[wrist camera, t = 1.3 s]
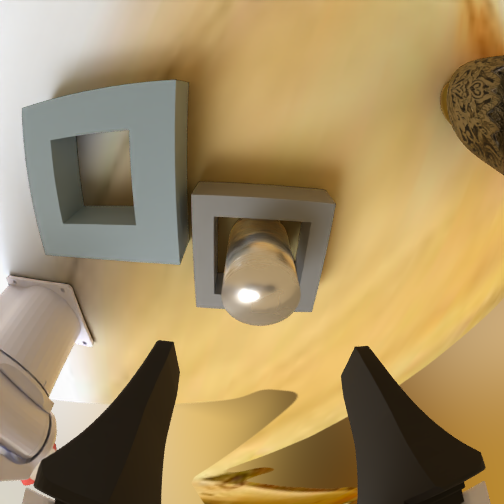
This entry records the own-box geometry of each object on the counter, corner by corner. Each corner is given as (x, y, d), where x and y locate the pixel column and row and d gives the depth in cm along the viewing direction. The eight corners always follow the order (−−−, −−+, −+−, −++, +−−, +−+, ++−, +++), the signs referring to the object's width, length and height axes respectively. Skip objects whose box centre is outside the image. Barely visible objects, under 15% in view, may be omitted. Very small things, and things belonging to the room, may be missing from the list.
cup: (402, 129, 15) (484, 159, 8) (424, 36, 12) (507, 24, 5) (472, 166, 16) (544, 208, 9) (492, 86, 12) (568, 103, 6)
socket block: (65, 235, 19) (45, 254, 16) (48, 103, 14) (21, 108, 11) (188, 240, 19) (179, 264, 17) (188, 82, 14) (176, 79, 11)
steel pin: (228, 264, 20) (221, 323, 15) (229, 211, 18) (221, 261, 13) (283, 267, 21) (294, 326, 15) (291, 215, 18) (307, 266, 13)
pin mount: (201, 285, 21) (196, 307, 19) (198, 181, 17) (191, 194, 15) (306, 290, 22) (311, 311, 19) (325, 189, 18) (335, 203, 15)
